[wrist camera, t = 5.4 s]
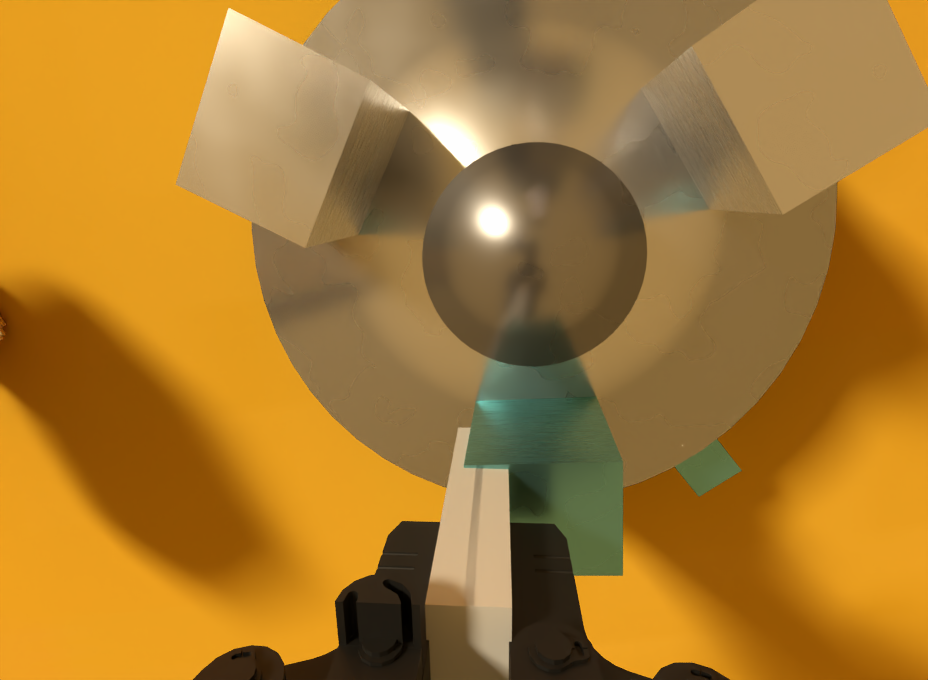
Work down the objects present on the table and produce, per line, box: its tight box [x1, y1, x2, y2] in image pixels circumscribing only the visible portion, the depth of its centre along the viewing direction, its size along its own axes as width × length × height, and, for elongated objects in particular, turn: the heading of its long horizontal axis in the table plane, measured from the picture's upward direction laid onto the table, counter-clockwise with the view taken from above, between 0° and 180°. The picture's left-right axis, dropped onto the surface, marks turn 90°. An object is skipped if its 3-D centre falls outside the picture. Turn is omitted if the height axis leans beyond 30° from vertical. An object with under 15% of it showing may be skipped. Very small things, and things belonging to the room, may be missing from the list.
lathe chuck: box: [176, 0, 928, 576], centre depth 14 cm, size 16×16×6 cm
